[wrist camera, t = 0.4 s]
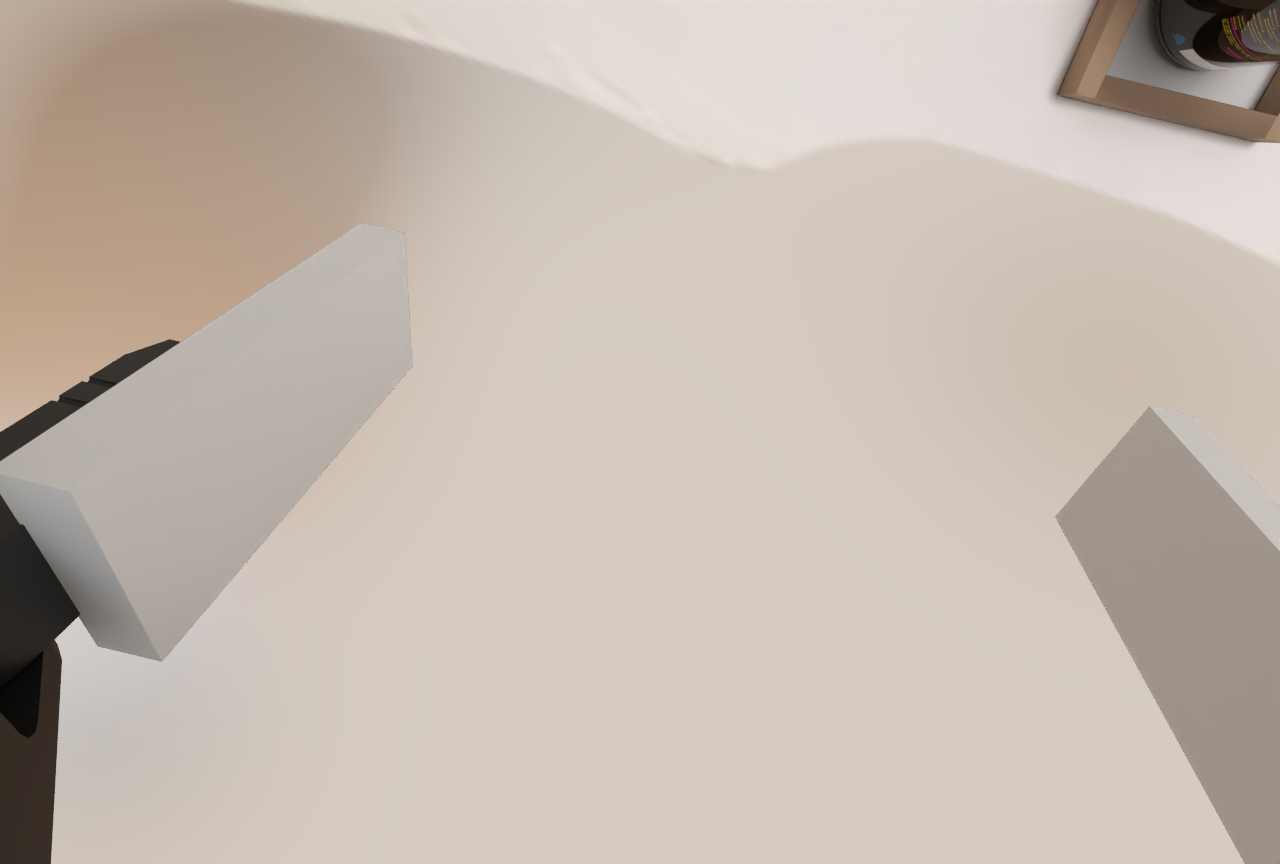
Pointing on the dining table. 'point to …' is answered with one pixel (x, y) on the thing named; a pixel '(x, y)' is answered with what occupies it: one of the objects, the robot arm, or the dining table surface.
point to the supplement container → (1220, 32)
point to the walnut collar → (1089, 83)
